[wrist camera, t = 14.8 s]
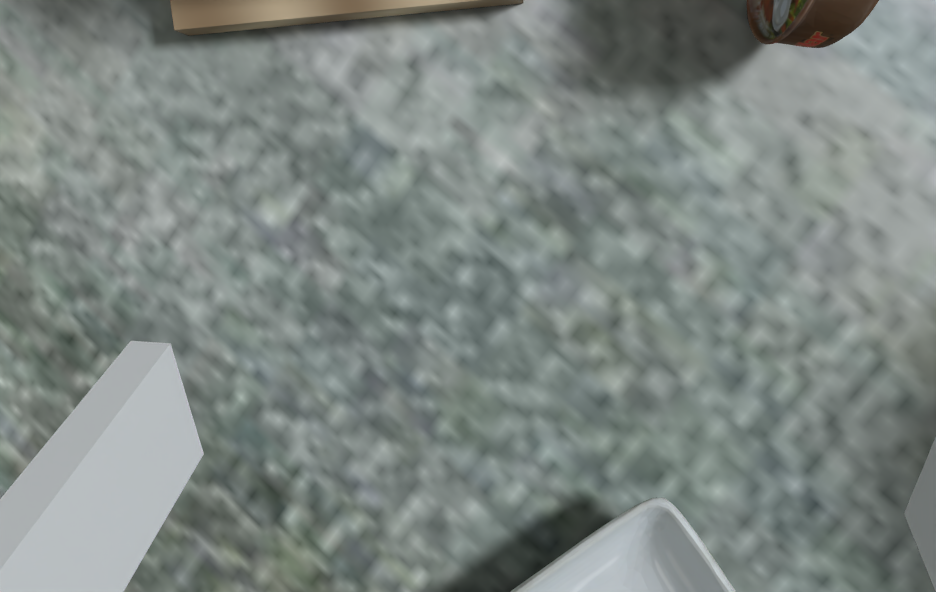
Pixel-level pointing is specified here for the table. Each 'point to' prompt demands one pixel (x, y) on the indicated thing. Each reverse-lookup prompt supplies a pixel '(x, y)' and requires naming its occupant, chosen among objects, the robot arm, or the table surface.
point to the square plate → (635, 557)
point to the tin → (806, 20)
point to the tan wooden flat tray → (299, 12)
